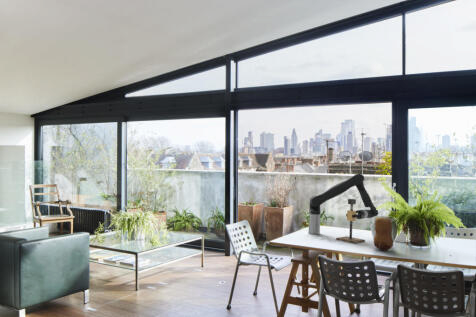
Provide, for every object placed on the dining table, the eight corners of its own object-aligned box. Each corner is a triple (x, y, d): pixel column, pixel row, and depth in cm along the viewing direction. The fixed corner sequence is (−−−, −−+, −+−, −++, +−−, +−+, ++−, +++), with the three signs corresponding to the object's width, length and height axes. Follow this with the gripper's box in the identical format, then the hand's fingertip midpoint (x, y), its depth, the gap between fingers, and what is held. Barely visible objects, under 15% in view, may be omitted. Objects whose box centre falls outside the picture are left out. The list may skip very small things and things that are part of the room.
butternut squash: (384, 247, 320) (385, 215, 320) (396, 251, 307) (397, 217, 307) (369, 248, 315) (370, 215, 315) (381, 252, 302) (382, 218, 302)
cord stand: (336, 239, 346) (337, 198, 346) (346, 238, 355) (347, 197, 355) (355, 243, 332) (356, 200, 332) (365, 241, 341) (366, 199, 341)
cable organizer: (413, 241, 348) (414, 227, 348) (411, 243, 339) (411, 229, 339) (395, 239, 356) (395, 225, 356) (392, 241, 347) (392, 227, 347)
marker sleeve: (346, 220, 344) (347, 210, 344) (350, 219, 347) (350, 210, 347) (352, 221, 340) (352, 211, 340) (355, 220, 343) (355, 210, 343)
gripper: (354, 208, 358) (342, 210, 347) (369, 210, 347) (357, 212, 336) (353, 217, 358) (341, 219, 347) (368, 220, 348) (357, 221, 336)
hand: (349, 215), depth 342 cm, fingers closed on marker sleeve, 5 cm apart
